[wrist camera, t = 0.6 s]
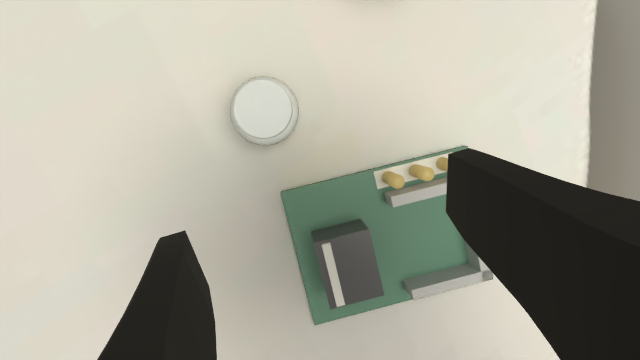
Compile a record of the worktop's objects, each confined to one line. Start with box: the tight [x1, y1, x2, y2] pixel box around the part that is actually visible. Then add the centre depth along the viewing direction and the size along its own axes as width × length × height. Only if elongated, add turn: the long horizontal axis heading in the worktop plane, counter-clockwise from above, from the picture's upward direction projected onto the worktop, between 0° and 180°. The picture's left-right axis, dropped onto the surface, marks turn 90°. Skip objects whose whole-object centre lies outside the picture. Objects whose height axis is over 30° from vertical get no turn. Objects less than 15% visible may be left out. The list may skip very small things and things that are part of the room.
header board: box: [281, 146, 493, 325], centre depth 32 cm, size 11×15×4 cm
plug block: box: [311, 219, 384, 310], centre depth 31 cm, size 5×4×4 cm
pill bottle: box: [230, 76, 299, 145], centre depth 28 cm, size 4×4×8 cm
